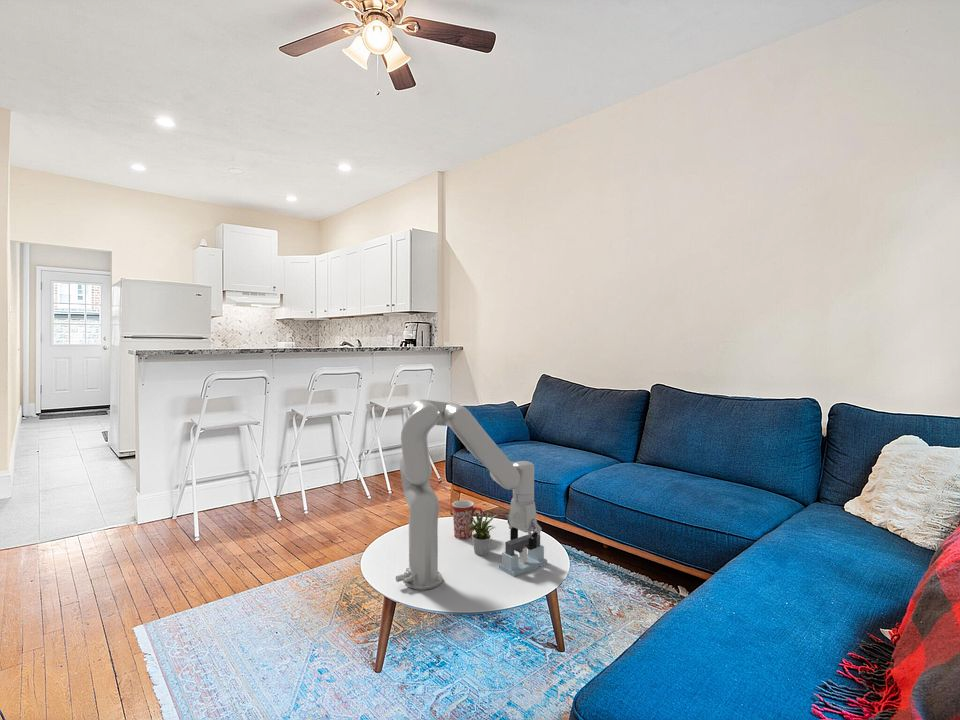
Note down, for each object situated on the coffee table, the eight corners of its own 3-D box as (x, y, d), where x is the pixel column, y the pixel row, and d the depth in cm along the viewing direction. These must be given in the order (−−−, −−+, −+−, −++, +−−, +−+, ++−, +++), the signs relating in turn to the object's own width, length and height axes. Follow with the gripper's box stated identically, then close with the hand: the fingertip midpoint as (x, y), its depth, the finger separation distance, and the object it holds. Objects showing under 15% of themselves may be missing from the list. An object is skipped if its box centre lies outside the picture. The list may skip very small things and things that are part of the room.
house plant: (452, 555, 187) (452, 512, 186) (470, 542, 199) (470, 501, 198) (486, 563, 180) (486, 518, 179) (502, 549, 192) (502, 507, 192)
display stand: (513, 576, 170) (513, 556, 170) (498, 568, 176) (498, 548, 176) (547, 563, 180) (547, 544, 179) (531, 556, 186) (531, 537, 186)
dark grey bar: (510, 556, 172) (511, 544, 172) (505, 553, 175) (505, 541, 175) (540, 545, 181) (540, 535, 181) (534, 543, 183) (534, 532, 183)
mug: (450, 540, 201) (450, 507, 200) (453, 531, 210) (453, 499, 209) (482, 540, 200) (482, 507, 200) (483, 531, 209) (483, 500, 209)
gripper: (499, 492, 182) (499, 538, 182) (532, 505, 168) (532, 555, 169) (515, 489, 186) (515, 534, 187) (548, 501, 172) (548, 549, 173)
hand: (523, 544), depth 178 cm, fingers open, 9 cm apart
